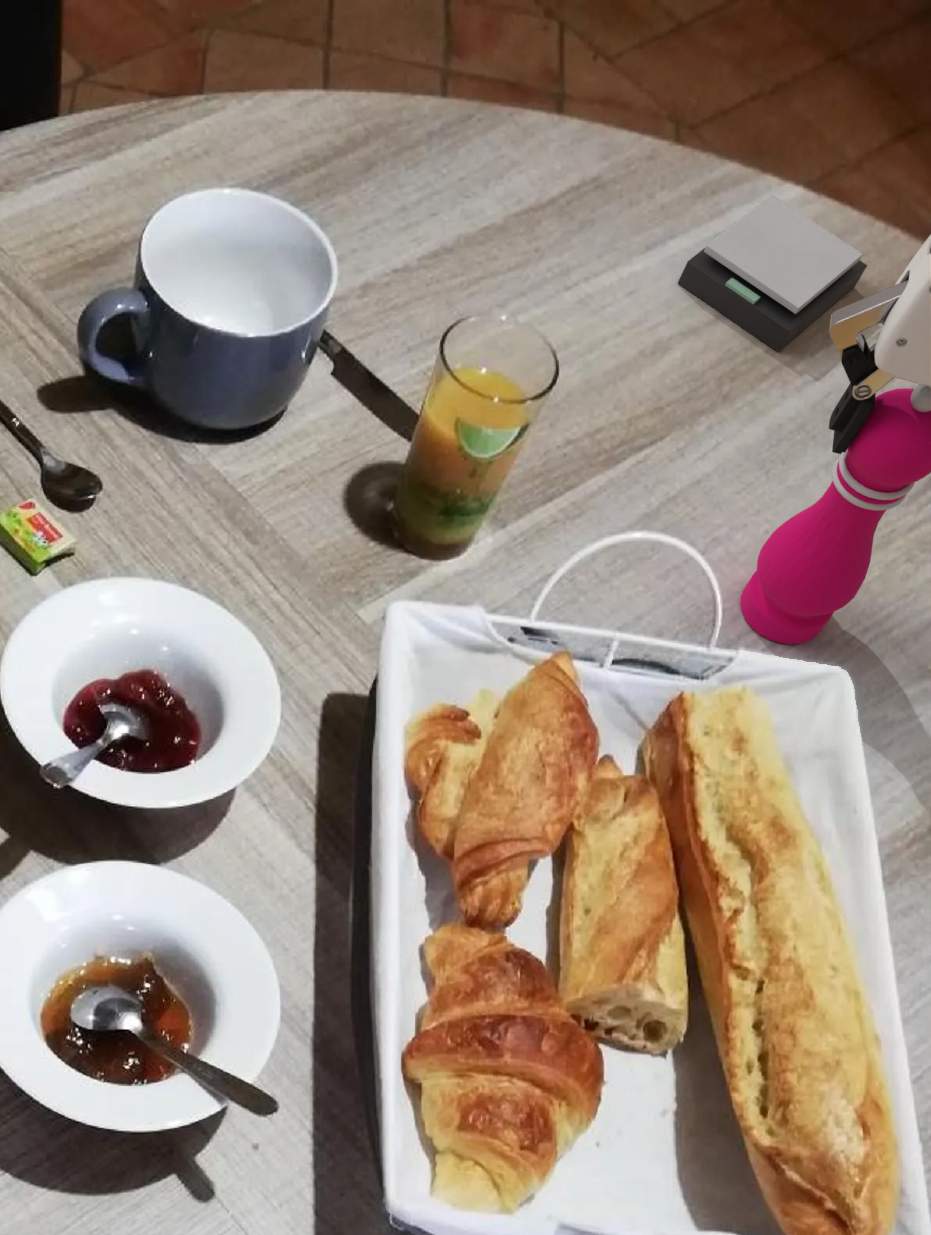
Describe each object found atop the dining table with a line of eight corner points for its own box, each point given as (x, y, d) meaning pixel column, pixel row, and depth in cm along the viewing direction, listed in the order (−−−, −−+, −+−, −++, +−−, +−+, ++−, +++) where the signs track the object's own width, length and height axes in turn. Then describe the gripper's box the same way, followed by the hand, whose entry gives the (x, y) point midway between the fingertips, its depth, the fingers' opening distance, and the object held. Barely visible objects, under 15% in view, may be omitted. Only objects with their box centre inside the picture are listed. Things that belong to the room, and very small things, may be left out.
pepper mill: (773, 556, 121) (921, 324, 103) (850, 616, 120) (1015, 391, 101) (712, 605, 119) (853, 377, 101) (790, 667, 117) (948, 447, 99)
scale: (854, 286, 133) (875, 251, 130) (777, 352, 129) (797, 317, 127) (755, 220, 135) (773, 184, 132) (677, 283, 132) (693, 247, 129)
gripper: (905, 198, 88) (752, 460, 105) (1226, 274, 87) (1020, 526, 104) (913, 108, 91) (763, 377, 107) (1223, 182, 90) (1024, 441, 107)
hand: (891, 448), depth 106 cm, fingers closed on pepper mill, 6 cm apart
